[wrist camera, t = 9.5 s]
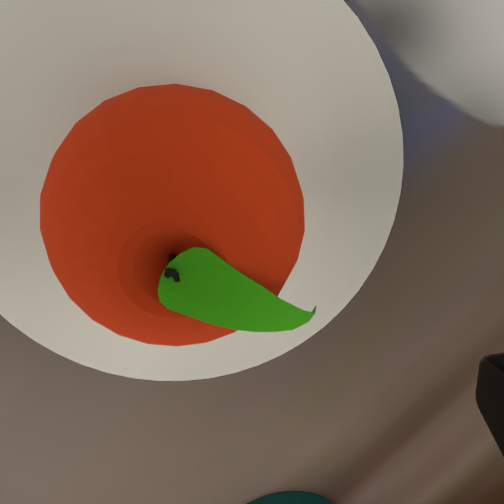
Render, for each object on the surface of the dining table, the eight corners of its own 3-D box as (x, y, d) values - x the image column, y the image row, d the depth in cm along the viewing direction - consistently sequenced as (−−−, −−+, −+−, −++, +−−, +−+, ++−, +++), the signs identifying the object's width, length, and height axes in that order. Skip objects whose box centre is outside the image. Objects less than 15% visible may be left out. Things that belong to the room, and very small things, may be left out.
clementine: (344, 165, 16) (442, 245, 10) (238, 314, 18) (263, 462, 12) (135, 26, 14) (87, 14, 8) (39, 217, 16) (-64, 337, 10)
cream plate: (399, -102, 14) (414, -112, 13) (387, 335, 21) (396, 348, 20) (-153, -52, 13) (-179, -59, 12) (20, 392, 20) (12, 409, 19)
